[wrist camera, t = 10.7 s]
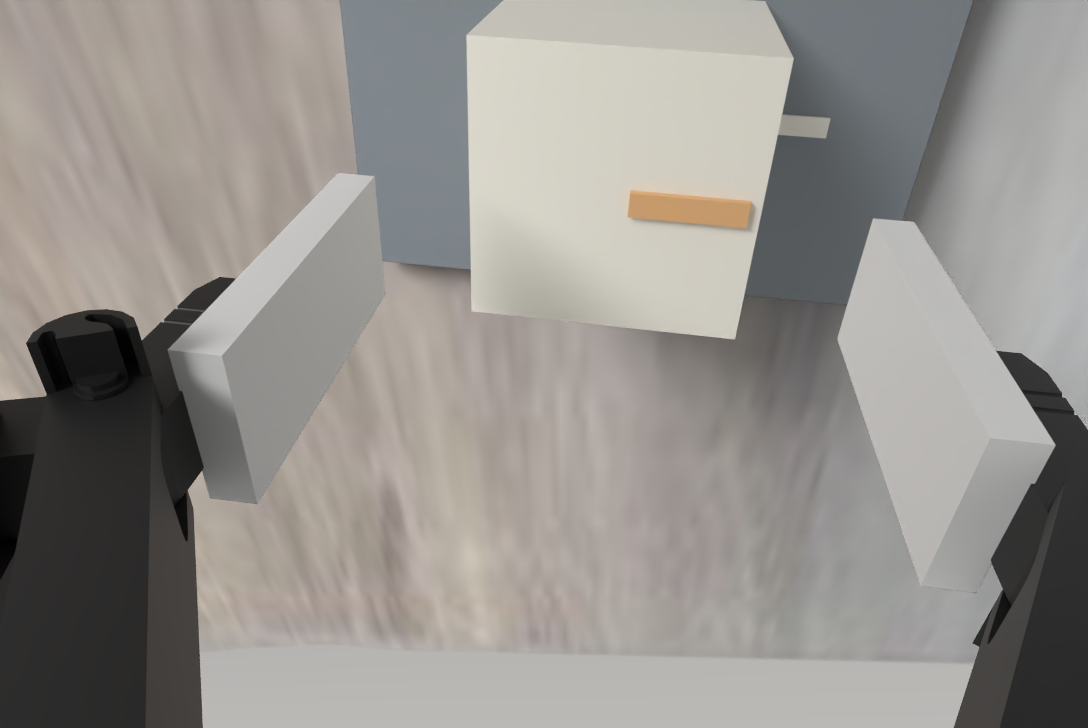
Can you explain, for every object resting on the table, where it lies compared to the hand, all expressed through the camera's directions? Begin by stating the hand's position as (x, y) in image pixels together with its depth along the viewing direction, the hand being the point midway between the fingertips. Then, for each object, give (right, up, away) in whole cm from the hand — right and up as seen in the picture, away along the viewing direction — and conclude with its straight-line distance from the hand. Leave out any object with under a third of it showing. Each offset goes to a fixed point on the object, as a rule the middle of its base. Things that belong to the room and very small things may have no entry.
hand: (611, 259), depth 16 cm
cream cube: (+1, +6, +8) cm, 10 cm away
